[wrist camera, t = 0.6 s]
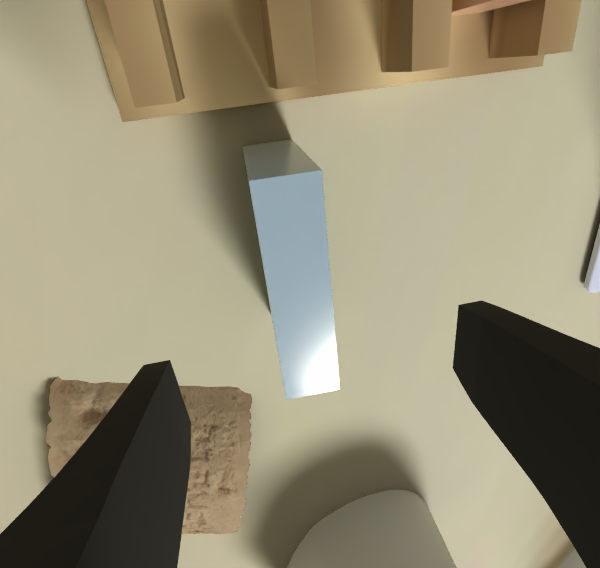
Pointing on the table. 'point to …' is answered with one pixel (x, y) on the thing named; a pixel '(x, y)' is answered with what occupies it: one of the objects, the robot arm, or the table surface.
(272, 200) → the pale blue block
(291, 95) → the rack
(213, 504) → the clay tablet
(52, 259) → the table surface
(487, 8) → the wooden block
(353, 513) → the lumpy-topped squat cylinder
